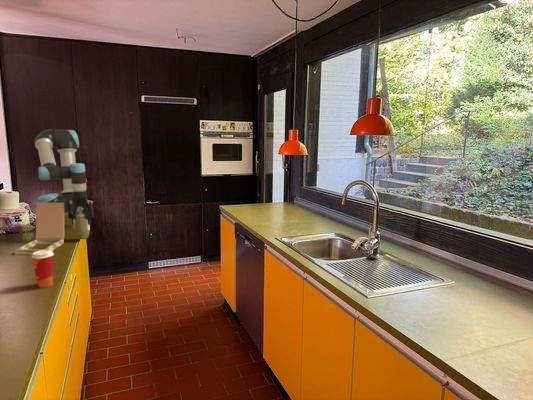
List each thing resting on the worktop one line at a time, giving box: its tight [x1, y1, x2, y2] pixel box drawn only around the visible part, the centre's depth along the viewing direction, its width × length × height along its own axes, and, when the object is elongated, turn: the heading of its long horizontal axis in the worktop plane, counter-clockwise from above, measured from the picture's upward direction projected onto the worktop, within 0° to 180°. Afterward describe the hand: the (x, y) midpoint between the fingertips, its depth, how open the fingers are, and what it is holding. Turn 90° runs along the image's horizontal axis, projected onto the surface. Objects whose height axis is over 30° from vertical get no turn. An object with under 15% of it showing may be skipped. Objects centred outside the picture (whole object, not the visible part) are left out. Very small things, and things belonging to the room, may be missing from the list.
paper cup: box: [31, 250, 55, 289], centre depth 151 cm, size 8×8×14 cm
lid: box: [35, 202, 65, 240], centre depth 210 cm, size 20×15×1 cm
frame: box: [14, 238, 65, 256], centre depth 200 cm, size 20×15×2 cm
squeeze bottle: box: [73, 208, 91, 240], centre depth 215 cm, size 8×8×18 cm
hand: (82, 229), depth 216 cm, fingers closed on squeeze bottle, 6 cm apart
